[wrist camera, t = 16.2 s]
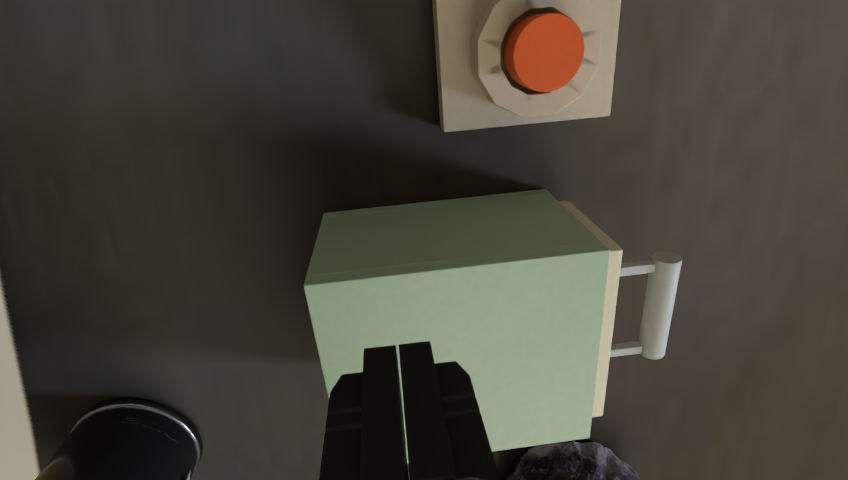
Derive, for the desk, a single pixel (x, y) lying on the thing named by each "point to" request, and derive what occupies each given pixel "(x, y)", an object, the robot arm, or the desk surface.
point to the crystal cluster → (572, 463)
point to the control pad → (487, 74)
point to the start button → (544, 51)
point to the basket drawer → (655, 310)
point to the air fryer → (471, 303)
